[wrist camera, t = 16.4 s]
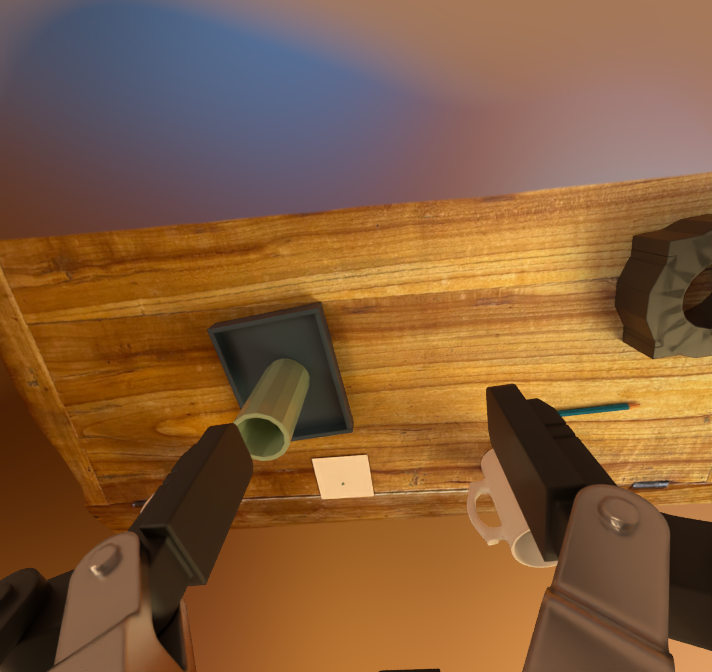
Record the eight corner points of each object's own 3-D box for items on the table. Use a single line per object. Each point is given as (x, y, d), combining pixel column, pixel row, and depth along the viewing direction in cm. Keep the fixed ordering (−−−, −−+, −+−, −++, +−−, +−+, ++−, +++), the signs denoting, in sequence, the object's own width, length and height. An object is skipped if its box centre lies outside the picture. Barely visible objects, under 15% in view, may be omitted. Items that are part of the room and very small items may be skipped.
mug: (527, 439, 44) (579, 521, 33) (530, 476, 46) (579, 564, 35) (451, 451, 45) (476, 534, 34) (458, 486, 48) (483, 574, 37)
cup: (258, 362, 40) (220, 418, 30) (303, 354, 40) (279, 409, 29) (273, 400, 42) (241, 464, 32) (315, 393, 42) (296, 456, 32)
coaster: (367, 454, 46) (367, 458, 45) (374, 496, 49) (374, 500, 48) (311, 458, 47) (310, 462, 46) (321, 499, 50) (321, 503, 49)
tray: (214, 323, 39) (206, 329, 37) (320, 301, 37) (318, 307, 35) (261, 435, 46) (256, 446, 44) (353, 422, 44) (352, 432, 42)
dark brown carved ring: (620, 231, 33) (656, 236, 29) (771, 200, 31) (831, 201, 27) (610, 348, 38) (639, 367, 34) (739, 327, 36) (786, 344, 32)
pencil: (499, 416, 43) (501, 419, 42) (640, 400, 41) (644, 403, 40) (499, 421, 43) (501, 424, 42) (639, 405, 41) (644, 409, 40)
